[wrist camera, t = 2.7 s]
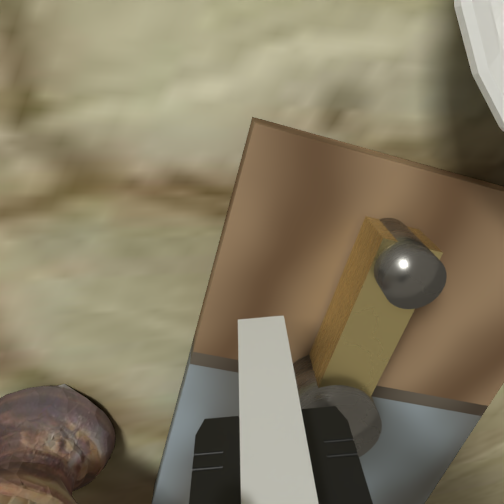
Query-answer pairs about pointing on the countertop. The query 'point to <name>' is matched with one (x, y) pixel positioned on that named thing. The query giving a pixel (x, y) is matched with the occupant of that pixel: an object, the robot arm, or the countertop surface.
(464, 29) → the bowl
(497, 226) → the board
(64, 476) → the mortar and pestle
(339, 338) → the swing bar
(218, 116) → the countertop surface
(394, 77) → the countertop surface
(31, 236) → the countertop surface
